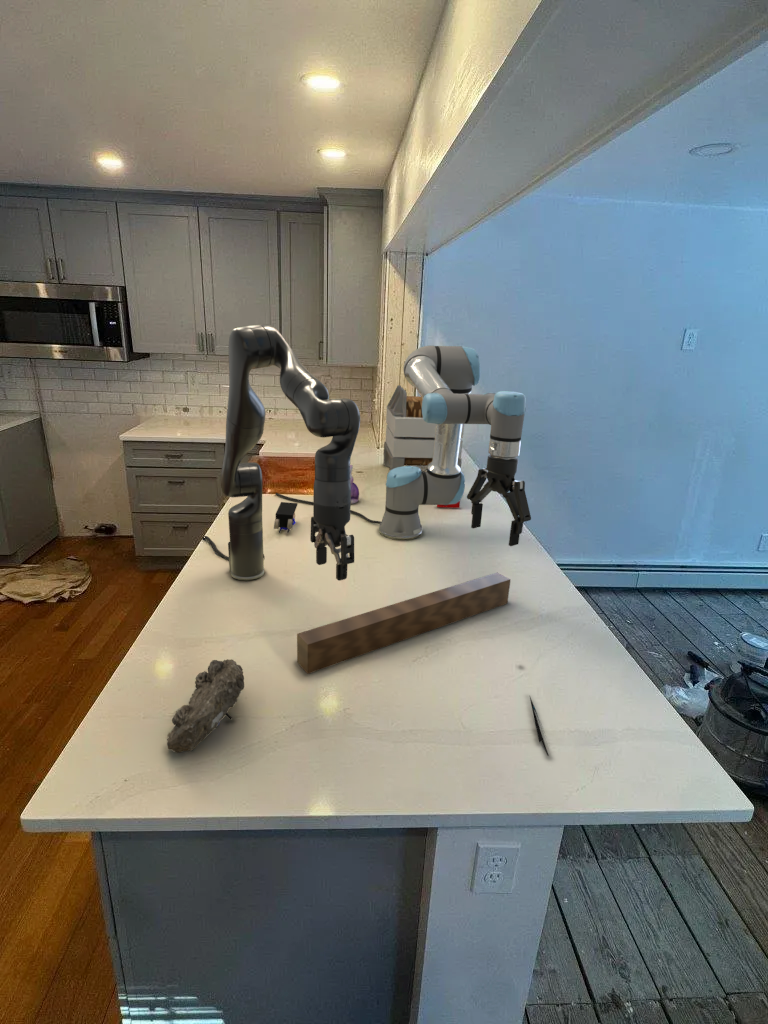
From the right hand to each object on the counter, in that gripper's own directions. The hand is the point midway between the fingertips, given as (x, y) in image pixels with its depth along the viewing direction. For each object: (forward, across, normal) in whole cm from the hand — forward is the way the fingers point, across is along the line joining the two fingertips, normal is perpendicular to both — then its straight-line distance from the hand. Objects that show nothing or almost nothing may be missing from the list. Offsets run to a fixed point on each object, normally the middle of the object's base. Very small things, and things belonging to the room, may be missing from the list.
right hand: (493, 535), depth 147 cm
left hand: (-1, 0, -48) cm, 48 cm away
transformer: (+20, -112, +65) cm, 131 cm away
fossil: (+20, +5, -77) cm, 80 cm away
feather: (+20, +36, -22) cm, 46 cm away
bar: (+20, 0, -24) cm, 32 cm away
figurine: (+20, -92, +12) cm, 95 cm away
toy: (+20, -78, +51) cm, 95 cm away
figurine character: (+20, -77, -22) cm, 83 cm away
